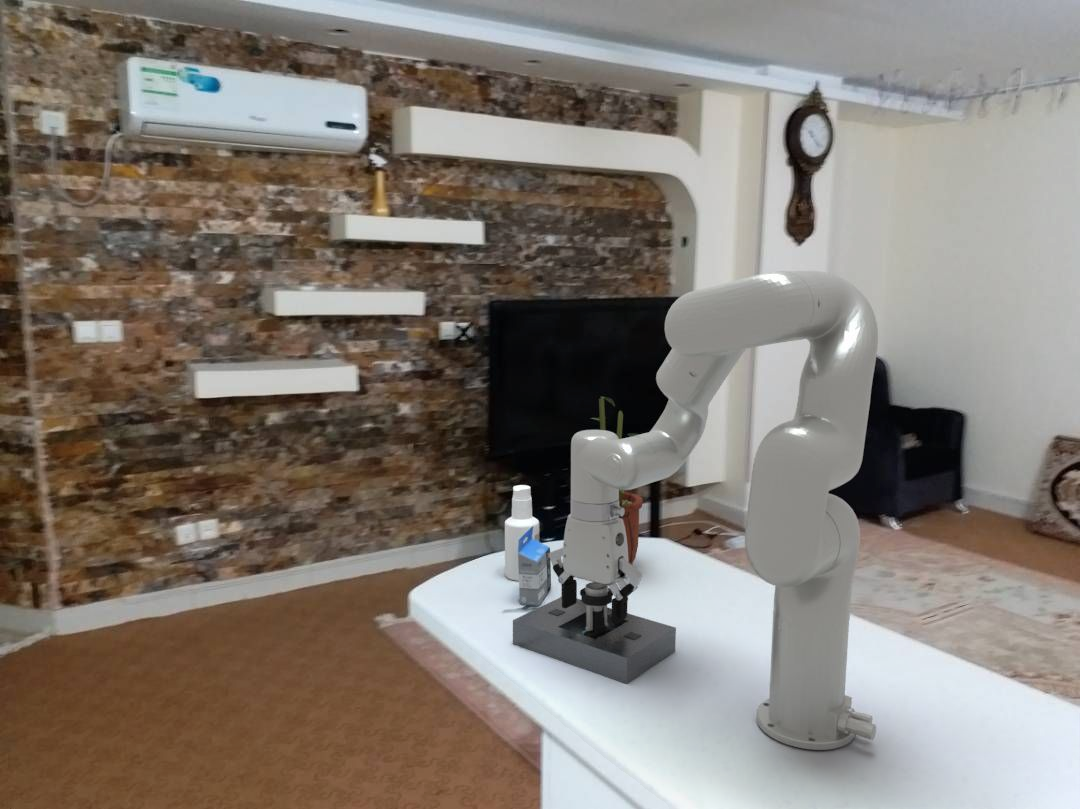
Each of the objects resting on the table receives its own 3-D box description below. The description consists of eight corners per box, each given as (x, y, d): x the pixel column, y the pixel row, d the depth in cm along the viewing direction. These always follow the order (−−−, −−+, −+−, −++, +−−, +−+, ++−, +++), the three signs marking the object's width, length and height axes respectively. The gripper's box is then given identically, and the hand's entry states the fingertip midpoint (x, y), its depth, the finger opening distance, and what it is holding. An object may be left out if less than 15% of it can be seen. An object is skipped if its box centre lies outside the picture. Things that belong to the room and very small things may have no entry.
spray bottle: (546, 575, 173) (546, 486, 170) (522, 584, 168) (522, 493, 165) (521, 567, 177) (521, 481, 174) (497, 575, 172) (497, 487, 169)
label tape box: (539, 606, 157) (539, 541, 155) (517, 604, 158) (517, 539, 156) (551, 589, 165) (551, 527, 163) (531, 587, 166) (531, 525, 164)
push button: (586, 657, 136) (585, 595, 135) (567, 645, 141) (566, 586, 139) (620, 647, 140) (620, 587, 138) (600, 636, 144) (600, 578, 143)
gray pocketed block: (675, 651, 139) (675, 626, 138) (626, 683, 128) (627, 657, 127) (565, 616, 152) (565, 594, 152) (512, 643, 142) (512, 619, 141)
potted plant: (562, 569, 176) (563, 398, 170) (614, 552, 186) (616, 390, 181) (627, 593, 163) (630, 409, 158) (679, 573, 174) (684, 399, 168)
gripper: (654, 513, 134) (652, 619, 137) (565, 495, 145) (564, 593, 147) (627, 525, 128) (626, 635, 131) (536, 505, 139) (536, 607, 142)
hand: (593, 613), depth 139 cm, fingers open, 9 cm apart
